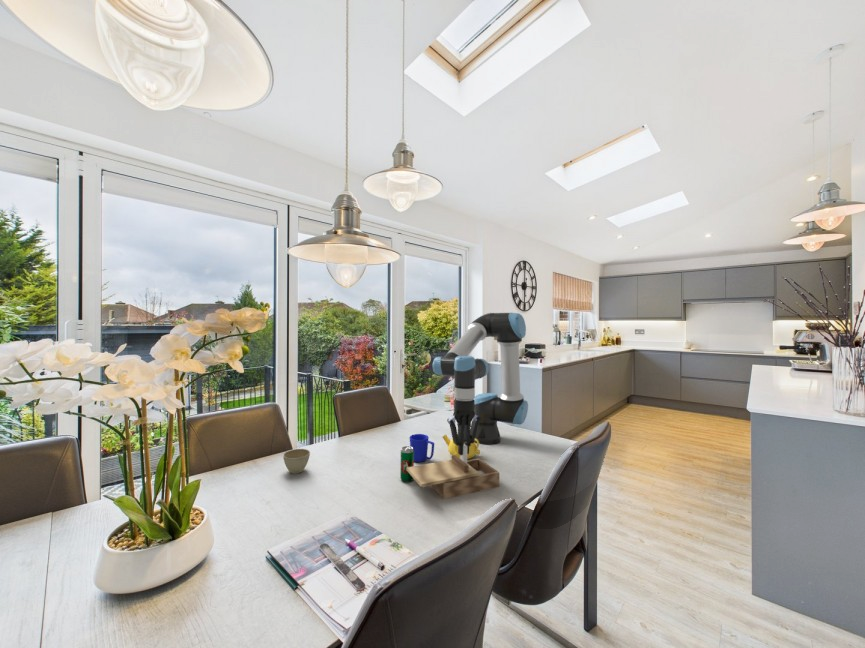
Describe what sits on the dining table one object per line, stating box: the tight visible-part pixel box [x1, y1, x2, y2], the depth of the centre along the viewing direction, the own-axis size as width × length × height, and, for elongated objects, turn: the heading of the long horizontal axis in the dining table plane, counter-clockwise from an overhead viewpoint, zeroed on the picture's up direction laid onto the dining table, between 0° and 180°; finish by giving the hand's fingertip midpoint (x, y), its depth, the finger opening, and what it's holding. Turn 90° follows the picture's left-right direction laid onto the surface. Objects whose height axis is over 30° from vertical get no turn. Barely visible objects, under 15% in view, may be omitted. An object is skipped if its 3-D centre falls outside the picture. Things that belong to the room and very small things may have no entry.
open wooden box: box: [431, 458, 500, 500], centre depth 129 cm, size 22×14×6 cm, turn 114°
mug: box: [409, 433, 435, 463], centre depth 152 cm, size 8×12×10 cm
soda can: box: [399, 445, 415, 483], centre depth 134 cm, size 5×5×12 cm
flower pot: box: [282, 448, 311, 475], centre depth 141 cm, size 10×10×7 cm
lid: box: [407, 455, 479, 488], centre depth 126 cm, size 22×14×3 cm, turn 114°
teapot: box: [442, 434, 481, 460], centre depth 157 cm, size 14×14×11 cm
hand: (463, 463), depth 129 cm, fingers closed
